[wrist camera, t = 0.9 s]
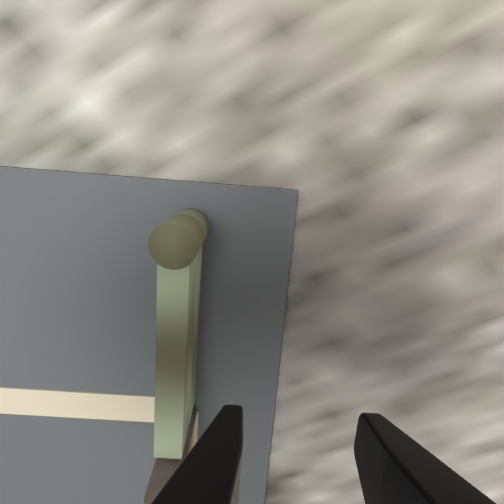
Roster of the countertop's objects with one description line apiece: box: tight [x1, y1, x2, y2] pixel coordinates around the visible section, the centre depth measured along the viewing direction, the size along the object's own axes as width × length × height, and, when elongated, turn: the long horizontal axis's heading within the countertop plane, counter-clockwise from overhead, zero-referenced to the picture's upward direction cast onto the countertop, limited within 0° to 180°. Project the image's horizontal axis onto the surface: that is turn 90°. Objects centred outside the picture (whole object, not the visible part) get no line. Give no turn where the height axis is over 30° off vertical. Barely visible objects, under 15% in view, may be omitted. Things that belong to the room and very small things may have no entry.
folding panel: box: [148, 208, 209, 459], centre depth 16 cm, size 10×2×4 cm, turn 175°
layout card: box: [0, 166, 298, 504], centre depth 20 cm, size 25×19×1 cm
